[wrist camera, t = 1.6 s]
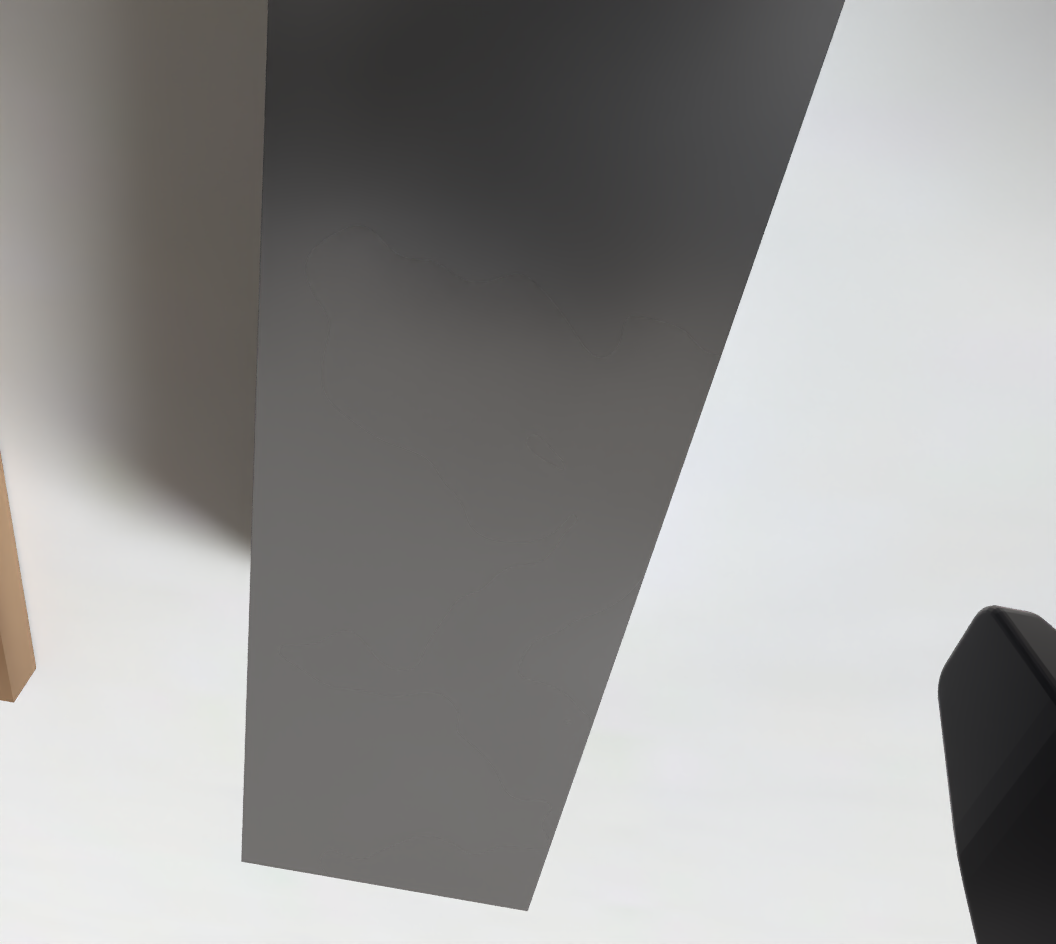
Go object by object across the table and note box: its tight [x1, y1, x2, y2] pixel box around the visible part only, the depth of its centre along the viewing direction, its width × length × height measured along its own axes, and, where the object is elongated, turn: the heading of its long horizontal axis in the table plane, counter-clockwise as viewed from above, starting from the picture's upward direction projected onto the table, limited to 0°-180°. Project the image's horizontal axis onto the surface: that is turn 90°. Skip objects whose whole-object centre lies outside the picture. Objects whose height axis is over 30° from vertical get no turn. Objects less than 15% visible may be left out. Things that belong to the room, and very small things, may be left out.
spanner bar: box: [241, 0, 845, 911], centre depth 11 cm, size 12×4×5 cm, turn 169°
